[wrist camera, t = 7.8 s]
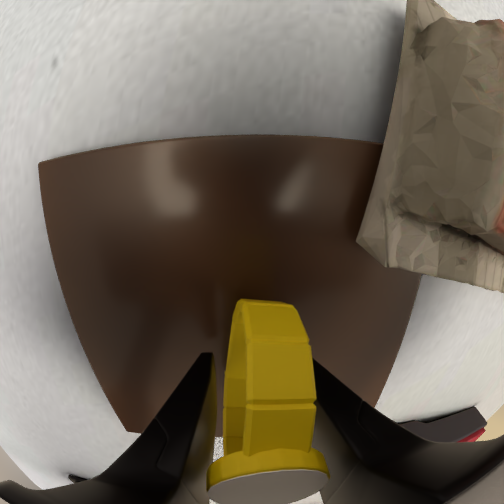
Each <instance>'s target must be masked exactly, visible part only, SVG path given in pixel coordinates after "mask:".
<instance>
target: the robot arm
mask: <svg viewBox="0 0 504 504" xmlns="http://www.w3.org/2000/svg"><path fill="white" fill-rule="evenodd" d="M312 360H313V369H314V379H315V389H316V400H315V401H314V402H313V404H314V405H315V406H316V415H315V423H314V431H313V438H312V445H311V448H314V449H316V450H318V451H319V452H321V453H322V454H323V456H324V458H325V461H326V464H327V467H328V470H329V473H330V479H329V481H328V482H327V484H326V485H325V487H323V488H322V489H321V490H319V491H320V494H321V497H322V500H323V503H324V504H504V435H502V436H501V437H498V438H496V439H492V440H488V441H477V442H452V443H440V442H433V441H429V440H426V439H424V438H422V437H420V436H418V435H416V434H415V433H413V432H411V431H409V430H408V429H406V428H404V427H402V426H401V425H399V424H397V423H396V422H394V421H392V420H391V419H389V418H388V417H386V416H385V415H383V414H382V413H380V412H379V411H378V410H376V409H375V408H374V407H372V406H371V405H370V404H368V403H367V402H366V401H363V399H362V398H361V397H360V396H358V395H357V394H356V393H355V392H353V391H352V390H351V389H350V388H349V387H347V386H346V385H345V384H344V383H342V382H341V381H340V380H339V379H338V378H336V377H335V376H334V375H333V374H332V373H330V372H329V371H328V370H327V369H326V368H325V367H323V366H322V365H321V364H320V363H319V362H317V361H316V360H315V359H314V358H313V357H312ZM216 421H217V386H216V368H215V360H214V354H213V353H212V352H202V353H201V354H200V355H199V356H198V358H197V359H196V361H195V362H194V363H193V365H192V366H191V368H190V369H189V370H188V372H187V373H186V374H185V376H184V377H183V379H182V380H181V381H180V383H179V384H178V386H177V387H176V388H175V390H174V391H173V392H172V394H171V395H170V397H169V398H168V399H167V401H166V402H165V403H164V405H163V406H162V407H161V409H160V410H159V412H158V413H157V414H156V416H155V418H153V420H152V421H151V422H150V424H149V425H148V426H147V428H146V429H145V430H144V431H143V433H142V434H141V435H140V436H139V437H138V438H137V440H136V441H135V442H134V443H133V444H132V445H131V446H130V447H129V448H128V449H127V450H126V451H125V452H124V453H123V454H122V455H121V456H120V457H119V458H118V459H117V460H116V461H115V462H114V463H113V464H112V465H111V466H110V467H109V468H108V469H106V470H105V471H104V472H103V473H101V474H100V475H98V476H97V477H94V478H92V479H89V480H84V479H81V478H77V477H74V476H71V475H69V477H68V478H69V479H70V480H71V481H72V482H74V484H70V485H66V486H61V487H57V488H52V489H46V490H32V489H28V488H25V487H23V486H21V485H19V484H18V483H15V482H14V481H11V480H7V481H3V482H0V498H2V499H3V500H5V501H6V502H8V503H9V504H209V499H210V498H209V496H208V494H207V491H206V472H207V469H208V468H209V466H210V465H211V464H212V463H213V453H214V442H215V431H216Z"/></svg>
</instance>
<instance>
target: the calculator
mask: <svg viewBox="0 0 504 504" xmlns="http://www.w3.org/2000/svg"><path fill="white" fill-rule="evenodd" d="M399 425H401V426H402V427H404V428H406V429H408V430H409V431H411V432H413V433H415V434H416V435H418V436H420V437H422V438H424V439H426V440H429V441H433V442H440V443H452V442H475V441H476V440H477V439H478V438H479V437H480V436H481V435H482V434H483V433H484V432H485V429H484V427H485V426H486V425H487V422H486V420H485V419H484V418H483V416H482V415H481V414H480V412H479V411H478V410H477V409H476V407H472V408H470V409H467V410H465V411H462V412H460V413H457V414H454V415H451V416H449V417H446V418H443V419H440V420H436V421H433V422H430V423H423V422H420V421H412V422H408V423H403V424H399Z"/></svg>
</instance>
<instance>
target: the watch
mask: <svg viewBox="0 0 504 504" xmlns="http://www.w3.org/2000/svg"><path fill="white" fill-rule="evenodd" d="M308 343H309V338H308V335H307V333H306V331H305V328H304V326H303V323H302V321H301V319H300V316H299V314H298V311H297V310H296V309H295V308H294V306H293V305H291V304H287V303H284V302H278V301H265V300H253V299H240V300H239V301H238V302H237V304H236V307H235V310H234V313H233V316H232V325H231V333H230V340H229V348H228V356H227V364H226V371H225V373H224V374H225V379H224V398H223V406H224V408H223V438H224V439H223V450H224V456H223V457H221V458H219V459H218V460H216V461H215V462H213V463H212V464H211V465H210V466H209V468H208V469H207V472H206V491H207V494H208V496H209V498H210V499H211V500H213V501H215V502H216V503H219V504H288V503H292V502H295V501H298V500H301V499H304V498H306V497H308V496H310V495H313V494H315V493H317V492H318V491H319V490H321V489H322V488H323V487H325V485H326V484H327V482H328V481H329V479H330V473H329V470H328V467H327V464H326V461H325V458H324V456H323V454H322V453H321V452H319V451H318V450H316V449H314V448H311V445H312V438H313V431H314V423H315V415H316V406H315V405H314V404H313V402H314V401H315V400H316V389H315V379H314V369H313V360H312V351H311V346H310V345H309V344H308Z"/></svg>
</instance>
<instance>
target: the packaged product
mask: <svg viewBox="0 0 504 504" xmlns="http://www.w3.org/2000/svg"><path fill="white" fill-rule="evenodd" d="M356 242H357V243H358V244H359V245H360V246H362V247H363V248H364V249H365V250H366V251H367V252H368V253H370V254H371V255H372V256H373V257H374V258H375V259H376V260H377V261H379V262H380V263H381V264H382V265H383V266H384V267H390V268H400V269H404V270H407V271H411V272H417V273H421V274H426V275H430V276H434V277H439V278H444V279H449V280H454V281H458V282H461V283H469V284H471V285H475V286H479V287H482V288H485V289H489V290H492V291H496V290H498V291H500V292H502V293H504V22H503V21H502V20H500V19H496V20H479V21H477V22H475V23H471V22H466V21H460V20H456V19H455V18H454V17H453V16H452V15H451V14H449V13H448V12H447V11H446V10H445V9H443V8H442V7H441V6H440V5H439V4H437V3H436V2H435V1H434V0H407V5H406V17H405V28H404V36H403V44H402V52H401V59H400V65H399V71H398V77H397V83H396V88H395V93H394V98H393V103H392V108H391V113H390V118H389V122H388V127H387V132H386V136H385V140H384V145H383V149H382V153H381V157H380V161H379V165H378V169H377V173H376V176H375V180H374V184H373V187H372V191H371V194H370V197H369V201H368V204H367V208H366V211H365V214H364V217H363V220H362V224H361V227H360V230H359V233H358V236H357V239H356Z"/></svg>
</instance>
